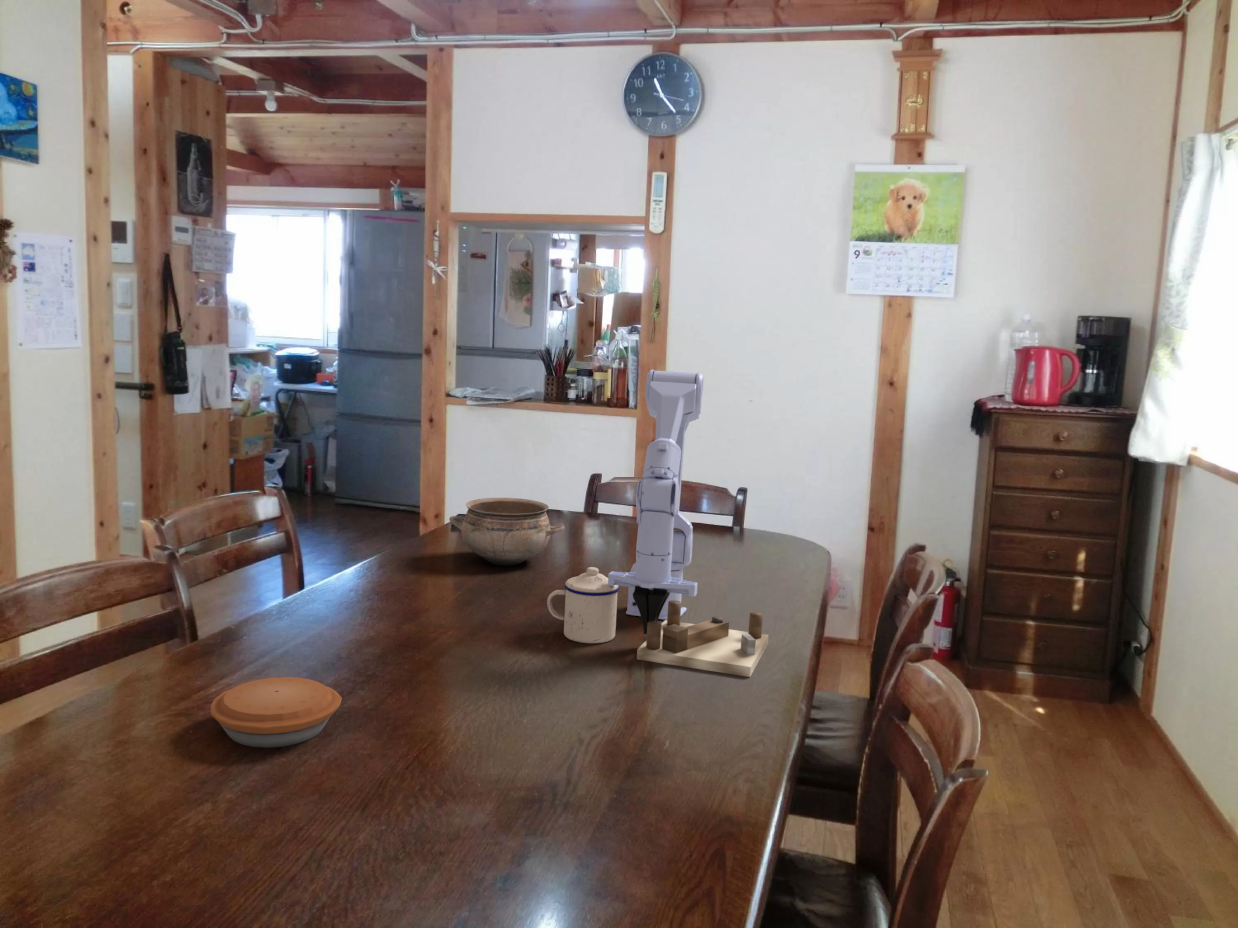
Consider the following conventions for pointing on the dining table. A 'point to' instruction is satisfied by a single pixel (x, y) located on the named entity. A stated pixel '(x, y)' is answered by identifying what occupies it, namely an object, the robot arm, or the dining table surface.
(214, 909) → the dining table surface
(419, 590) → the dining table surface
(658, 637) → the stool seat
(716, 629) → the folding leg
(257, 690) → the pie
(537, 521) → the cooking pot
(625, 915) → the dining table surface
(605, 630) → the teacup with lid
